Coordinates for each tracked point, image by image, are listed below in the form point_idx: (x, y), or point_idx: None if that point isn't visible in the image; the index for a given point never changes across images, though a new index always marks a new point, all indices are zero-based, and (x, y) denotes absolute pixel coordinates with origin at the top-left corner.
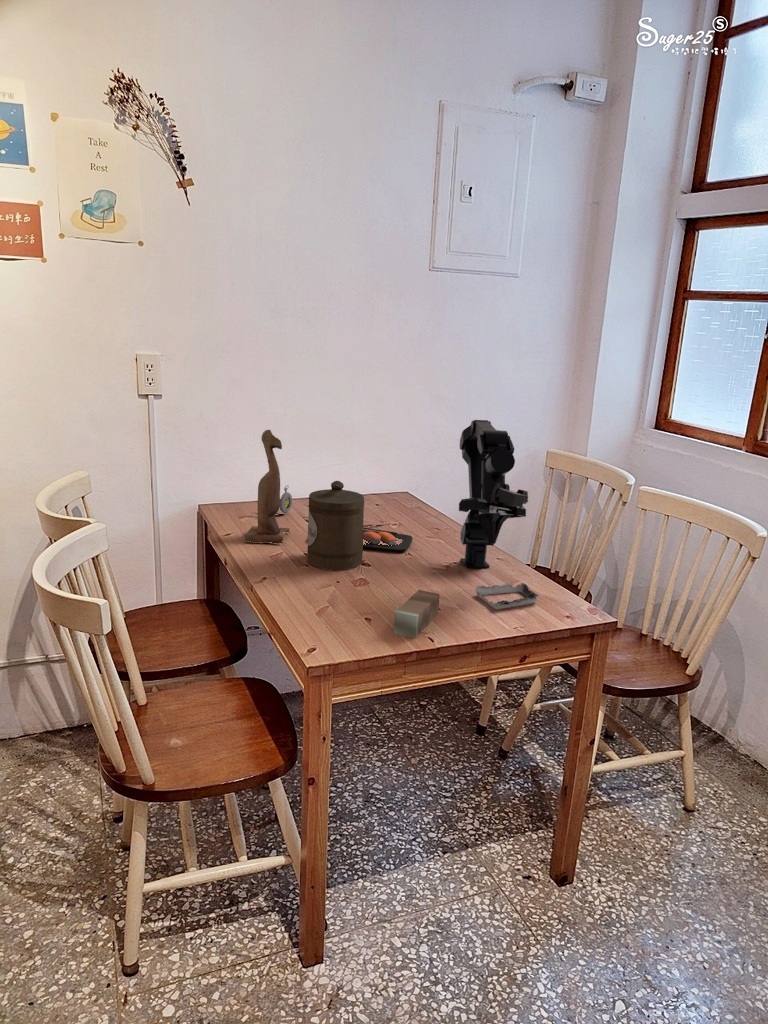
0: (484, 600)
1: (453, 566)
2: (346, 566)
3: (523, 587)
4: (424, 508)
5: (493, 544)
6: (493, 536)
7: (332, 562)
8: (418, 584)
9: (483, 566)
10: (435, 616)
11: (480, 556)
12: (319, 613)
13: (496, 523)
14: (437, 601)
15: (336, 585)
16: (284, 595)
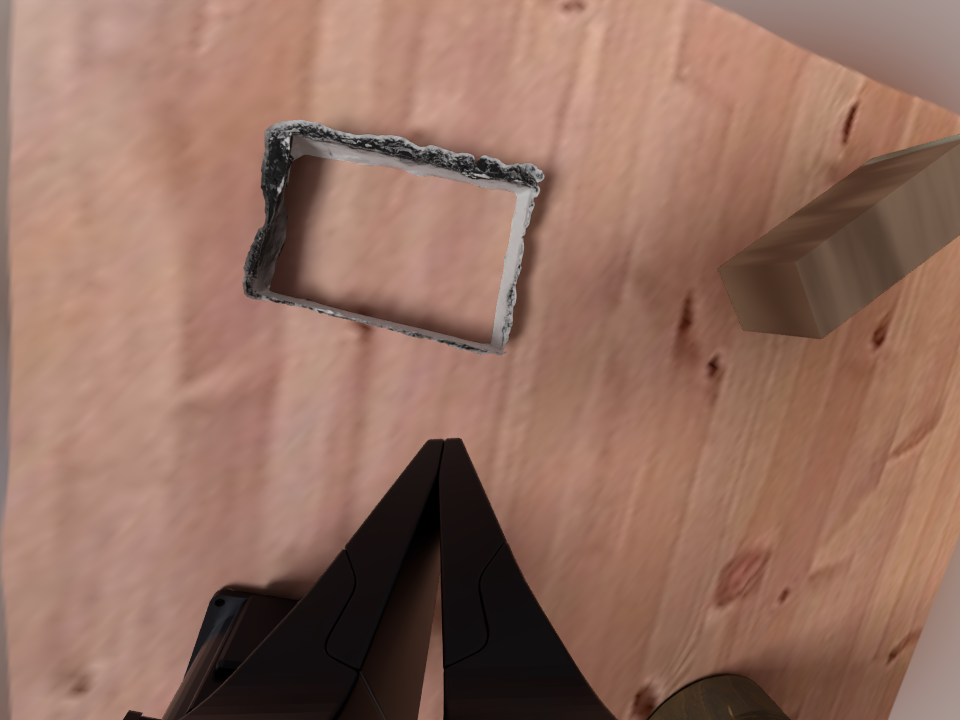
0: (503, 284)
1: None
2: (725, 684)
3: (259, 278)
4: None
5: (125, 717)
6: (468, 478)
7: (771, 703)
8: (609, 512)
9: (249, 598)
10: (740, 253)
11: (257, 642)
12: (932, 420)
13: (374, 686)
14: (785, 253)
15: (801, 573)
16: (921, 547)
